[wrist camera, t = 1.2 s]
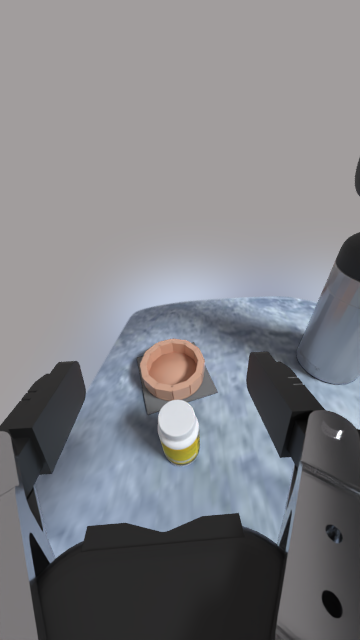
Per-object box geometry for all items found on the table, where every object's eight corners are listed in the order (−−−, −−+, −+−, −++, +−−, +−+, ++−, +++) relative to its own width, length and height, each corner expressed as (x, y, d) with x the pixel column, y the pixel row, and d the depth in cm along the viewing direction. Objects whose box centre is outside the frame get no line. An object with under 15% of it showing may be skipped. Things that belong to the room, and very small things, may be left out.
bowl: (192, 344, 42) (191, 333, 40) (213, 389, 34) (213, 378, 32) (139, 358, 40) (136, 348, 38) (150, 409, 33) (146, 399, 31)
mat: (193, 343, 42) (193, 342, 42) (217, 392, 34) (217, 391, 34) (137, 358, 40) (136, 357, 40) (147, 415, 32) (147, 414, 32)
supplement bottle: (206, 457, 28) (206, 429, 22) (170, 474, 27) (161, 449, 21) (191, 421, 31) (188, 390, 26) (159, 435, 30) (149, 405, 25)
